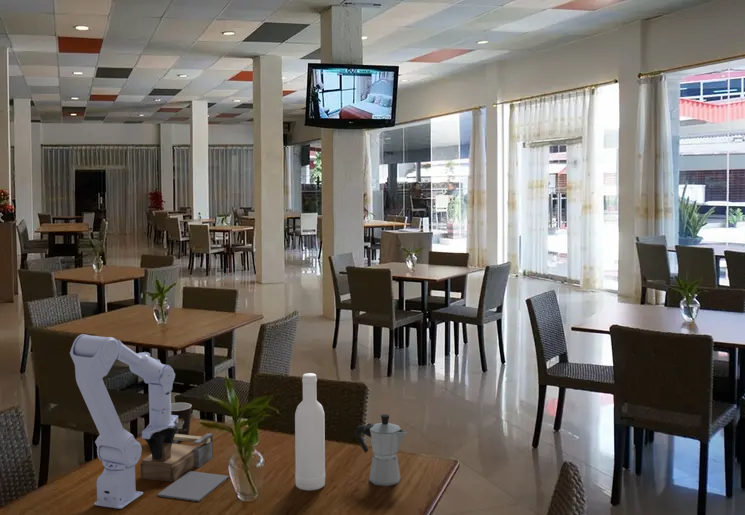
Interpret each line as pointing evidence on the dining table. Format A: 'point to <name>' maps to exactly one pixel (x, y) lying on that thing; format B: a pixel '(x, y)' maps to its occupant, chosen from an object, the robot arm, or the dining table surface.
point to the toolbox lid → (171, 455)
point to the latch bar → (189, 438)
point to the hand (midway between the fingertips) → (161, 455)
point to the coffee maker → (383, 450)
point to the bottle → (310, 438)
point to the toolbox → (175, 472)
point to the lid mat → (193, 486)
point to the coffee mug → (182, 416)
